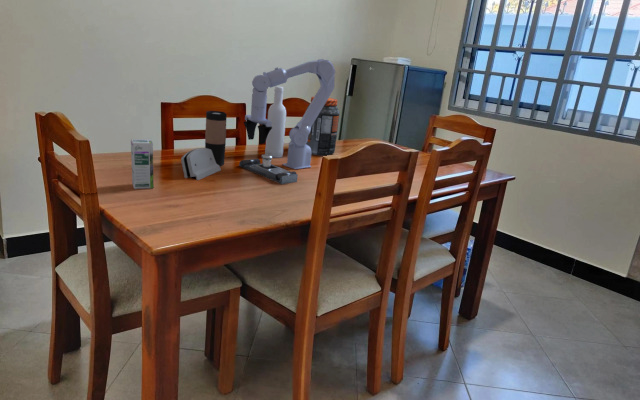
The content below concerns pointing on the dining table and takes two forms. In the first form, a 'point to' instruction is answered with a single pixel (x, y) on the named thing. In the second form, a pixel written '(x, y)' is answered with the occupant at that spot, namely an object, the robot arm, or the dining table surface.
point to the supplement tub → (324, 129)
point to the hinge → (199, 163)
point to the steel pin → (266, 161)
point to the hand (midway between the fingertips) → (256, 141)
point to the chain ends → (269, 171)
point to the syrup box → (142, 163)
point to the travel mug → (216, 135)
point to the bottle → (276, 125)
